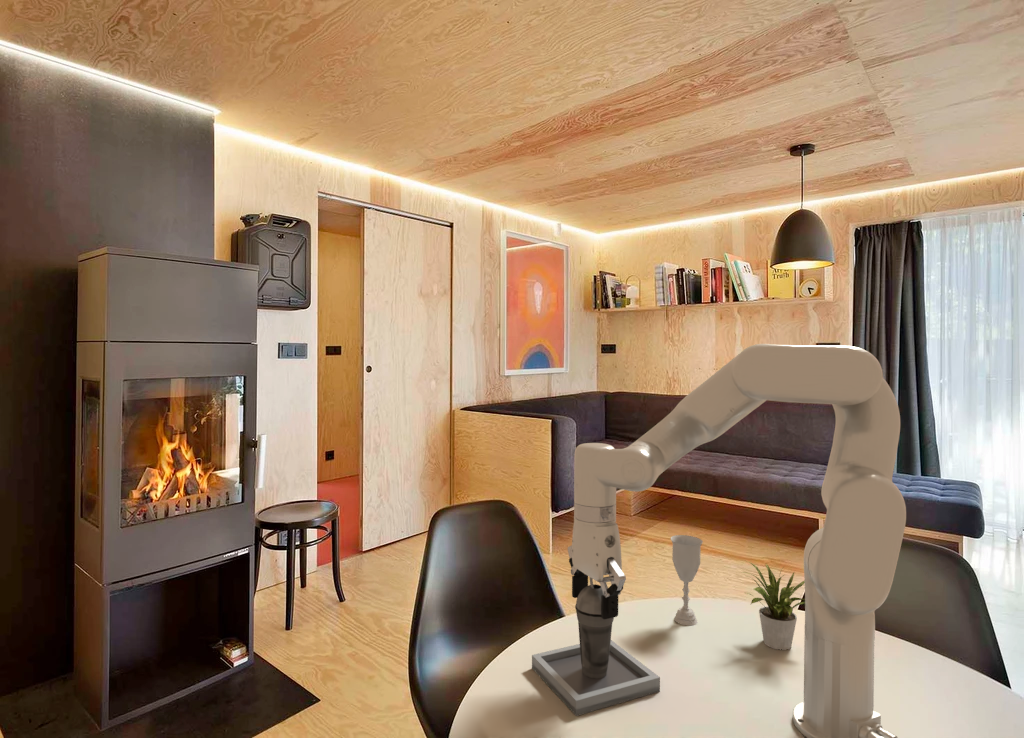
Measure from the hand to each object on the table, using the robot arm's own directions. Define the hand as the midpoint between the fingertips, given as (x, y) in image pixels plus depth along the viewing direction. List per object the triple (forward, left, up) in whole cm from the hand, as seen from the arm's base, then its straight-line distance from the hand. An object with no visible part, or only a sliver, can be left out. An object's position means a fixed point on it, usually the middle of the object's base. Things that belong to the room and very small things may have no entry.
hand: (594, 606), depth 104 cm
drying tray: (0, 0, -13) cm, 13 cm away
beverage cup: (0, 0, -12) cm, 12 cm away
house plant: (-3, -41, -13) cm, 43 cm away
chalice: (+12, -32, -13) cm, 37 cm away
